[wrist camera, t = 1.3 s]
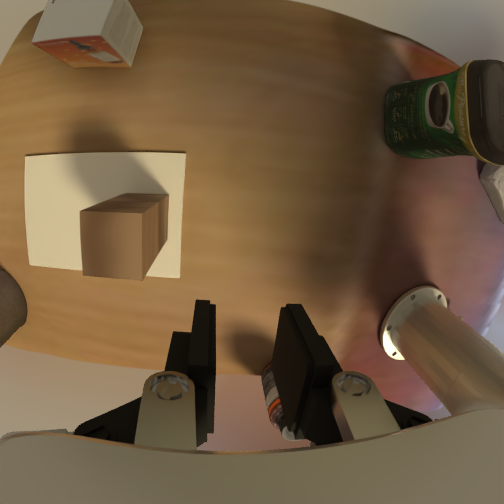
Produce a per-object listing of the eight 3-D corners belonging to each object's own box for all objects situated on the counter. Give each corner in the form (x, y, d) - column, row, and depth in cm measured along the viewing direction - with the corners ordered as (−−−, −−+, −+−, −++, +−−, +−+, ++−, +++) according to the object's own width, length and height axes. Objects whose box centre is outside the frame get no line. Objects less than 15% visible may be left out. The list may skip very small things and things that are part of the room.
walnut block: (169, 194, 31) (142, 213, 20) (167, 239, 33) (142, 280, 21) (125, 192, 31) (79, 211, 19) (125, 237, 32) (83, 275, 21)
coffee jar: (428, 162, 34) (540, 178, 16) (379, 152, 33) (497, 159, 15) (429, 94, 31) (536, 78, 13) (381, 79, 30) (489, 41, 12)
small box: (73, 69, 26) (28, 44, 16) (86, 29, 24) (48, -5, 14) (132, 69, 27) (100, 36, 17) (145, 27, 26) (121, -15, 15)
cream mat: (186, 153, 31) (186, 153, 30) (180, 277, 35) (179, 278, 34) (27, 156, 28) (25, 156, 28) (31, 264, 32) (29, 265, 31)
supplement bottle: (310, 368, 41) (334, 424, 30) (282, 393, 42) (298, 451, 31) (280, 350, 39) (299, 409, 28) (251, 377, 40) (262, 438, 29)
